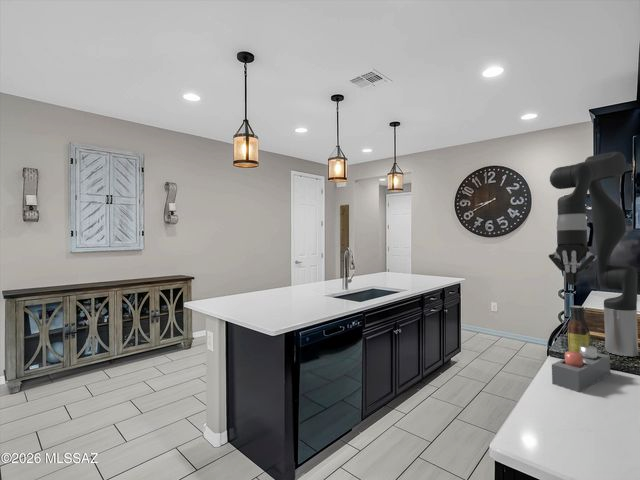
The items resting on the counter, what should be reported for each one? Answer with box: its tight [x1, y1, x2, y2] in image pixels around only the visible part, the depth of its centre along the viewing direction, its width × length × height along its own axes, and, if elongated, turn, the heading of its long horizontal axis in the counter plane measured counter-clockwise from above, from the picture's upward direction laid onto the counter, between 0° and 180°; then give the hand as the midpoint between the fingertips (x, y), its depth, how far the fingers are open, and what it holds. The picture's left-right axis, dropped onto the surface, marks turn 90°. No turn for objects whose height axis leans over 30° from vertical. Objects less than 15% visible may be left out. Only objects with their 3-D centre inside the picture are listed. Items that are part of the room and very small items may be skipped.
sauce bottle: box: [567, 305, 592, 353], centre depth 119 cm, size 7×6×20 cm
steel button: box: [580, 345, 598, 361], centre depth 108 cm, size 4×4×5 cm
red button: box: [564, 350, 583, 368], centre depth 103 cm, size 4×4×5 cm
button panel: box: [551, 352, 611, 393], centre depth 106 cm, size 22×7×6 cm, turn 121°
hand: (572, 284), depth 104 cm, fingers closed
